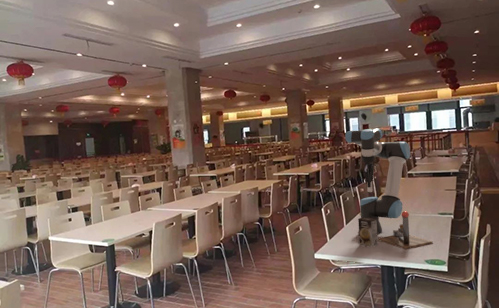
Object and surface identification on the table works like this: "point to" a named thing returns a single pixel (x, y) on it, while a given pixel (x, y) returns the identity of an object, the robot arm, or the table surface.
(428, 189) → the table surface
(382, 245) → the table surface
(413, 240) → the cracker base
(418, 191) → the table surface
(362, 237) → the coffee box
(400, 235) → the lever
